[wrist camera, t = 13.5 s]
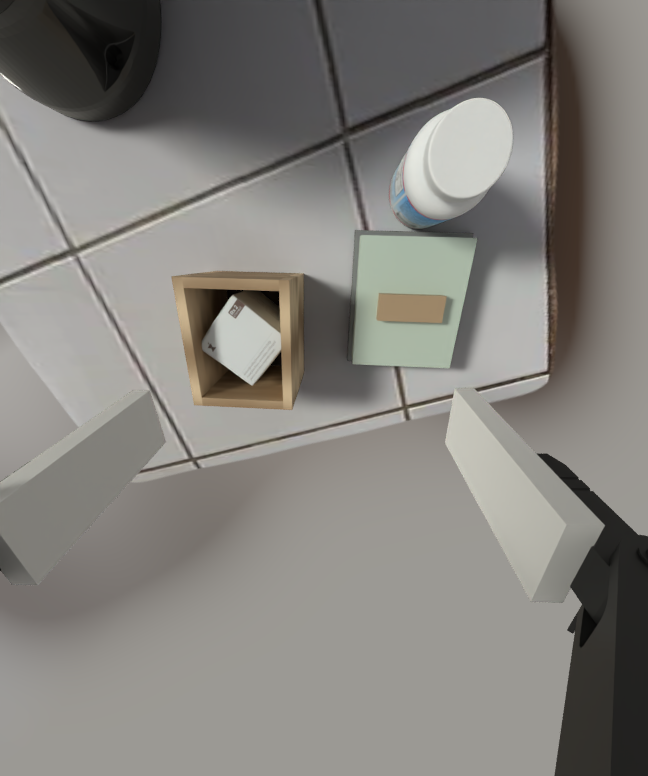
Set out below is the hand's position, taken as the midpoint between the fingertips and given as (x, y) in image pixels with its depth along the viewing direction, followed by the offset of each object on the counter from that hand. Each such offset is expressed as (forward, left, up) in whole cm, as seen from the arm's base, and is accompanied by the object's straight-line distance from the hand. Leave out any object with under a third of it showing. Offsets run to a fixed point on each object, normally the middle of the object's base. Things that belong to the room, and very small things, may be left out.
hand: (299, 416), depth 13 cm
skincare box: (+1, -7, -21) cm, 22 cm away
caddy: (+1, -7, -21) cm, 22 cm away
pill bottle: (-12, +9, -21) cm, 26 cm away
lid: (-2, +8, -20) cm, 22 cm away
